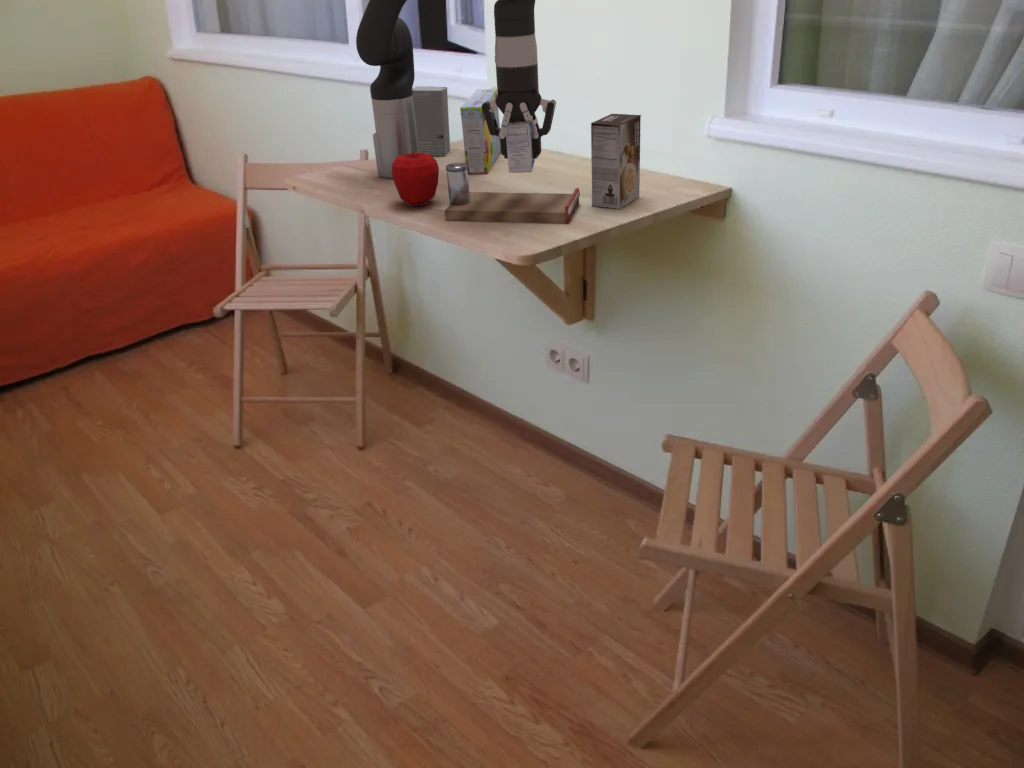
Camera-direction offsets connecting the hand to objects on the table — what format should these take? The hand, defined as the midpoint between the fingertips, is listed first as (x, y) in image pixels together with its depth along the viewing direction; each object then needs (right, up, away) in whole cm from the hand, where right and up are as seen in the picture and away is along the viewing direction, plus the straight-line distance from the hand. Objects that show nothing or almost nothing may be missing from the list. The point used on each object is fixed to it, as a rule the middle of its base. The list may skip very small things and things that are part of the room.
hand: (521, 157), depth 154 cm
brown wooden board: (-1, -9, +6) cm, 11 cm away
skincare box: (-21, +15, +51) cm, 57 cm away
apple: (-21, -6, +14) cm, 26 cm away
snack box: (-8, +10, +41) cm, 42 cm away
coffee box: (+19, -7, +8) cm, 22 cm away
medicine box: (0, -2, +1) cm, 2 cm away
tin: (-12, -7, +6) cm, 15 cm away
